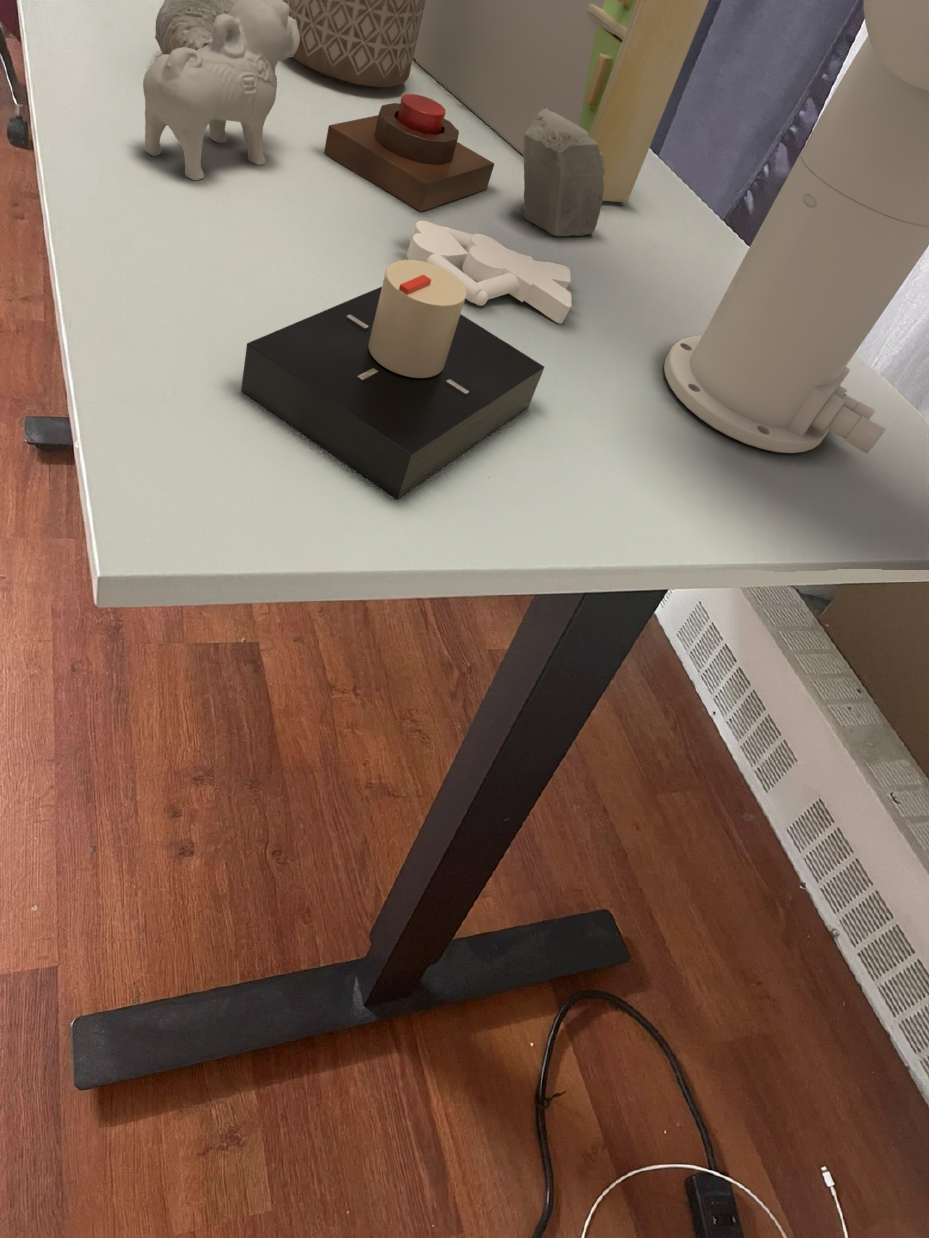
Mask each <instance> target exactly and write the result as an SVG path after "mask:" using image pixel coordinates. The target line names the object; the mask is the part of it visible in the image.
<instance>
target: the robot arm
mask: <svg viewBox="0 0 929 1238" xmlns="http://www.w3.org/2000/svg"><path fill="white" fill-rule="evenodd" d="M863 16H864V23H865V28H866V32H867V36H866V38H865V40H864V41H863V43H862V44H861V46H860V48H859V50H858V51H857V52H856V54H855V56H854V57H853V59H852V61H851V62H850V64H849V66H848V67H847V69H846V71H845V73H844V74H843V76H842V78H841V79H840V81H839V83H838V85H837V86H836V88H835V89H834V92H833V93H832V95H831V97H830V99H829V101H828V102H827V104H826V105H825V107H824V110H823V111H822V113H821V115H820V116H819V118H818V119H817V122H816V124H815V126H814V128H813V130H812V131H811V133H810V135H809V137H808V139H807V140H806V142H805V144H804V146H803V148H802V150H801V151H800V153H799V154H798V155H797V158H796V160H795V162H794V164H793V165H792V168H791V169H790V171H789V173H788V175H787V177H786V179H785V180H784V182H783V184H782V186H781V188H780V190H779V192H778V193H777V196H776V197H775V199H774V201H773V203H772V205H771V207H770V209H769V210H768V213H767V214H766V216H765V218H764V220H763V222H762V224H761V225H760V227H759V229H758V231H757V233H756V235H755V236H754V238H753V240H752V242H751V244H750V246H749V248H748V250H746V251H747V252H746V253H745V255H744V257H743V259H742V260H741V263H740V265H739V266H738V268H737V270H736V272H735V273H734V275H733V277H732V280H731V281H730V283H729V285H728V287H727V289H726V291H725V292H724V294H723V296H722V298H721V300H720V301H719V304H718V306H717V307H716V309H715V311H714V313H713V314H712V317H711V319H710V321H709V322H708V324H707V327H706V328H705V330H704V331H703V334H702V335H693V336H687V337H684V338H682V339H680V340H677V341H676V342H675V343H674V344H673V345H672V346H671V348H670V350H669V352H668V354H667V356H666V357H665V360H664V365H663V370H664V375H665V378H666V380H667V383H668V385H669V387H670V389H671V390H672V391H673V393H674V395H675V396H676V397H677V399H678V400H679V401H680V402H681V403H682V404H683V405H684V406H685V407H686V408H687V409H688V410H689V411H690V412H692V414H694V415H695V416H696V417H697V418H698V419H700V420H702V421H703V422H704V423H706V424H707V425H708V426H710V427H711V428H713V429H715V430H717V431H718V432H720V433H722V434H724V435H725V436H728V437H729V438H732V439H734V440H736V441H739V442H741V443H743V444H745V445H748V446H750V447H754V448H757V449H760V450H765V451H770V452H774V453H782V454H783V453H784V454H796V453H797V454H798V453H805V452H808V451H810V450H813V449H815V448H817V447H818V446H819V445H821V443H822V441H823V440H824V439H825V437H826V436H827V435H828V433H829V432H830V431H831V432H832V433H834V434H835V435H838V436H839V437H841V438H842V439H844V442H846V443H848V444H850V445H851V446H852V447H855V448H857V449H858V450H859V451H861V452H863V453H865V454H869V453H870V452H871V450H872V449H873V448H874V446H875V445H876V443H877V442H878V441H879V439H880V438H881V437H882V435H883V434H884V432H885V431H886V428H885V427H882V426H880V425H879V424H877V423H876V422H874V421H872V420H870V419H871V418H872V417H873V415H874V414H875V412H876V410H875V409H874V408H872V407H870V406H868V405H867V404H865V403H863V402H861V401H858V400H856V399H854V398H853V397H851V396H849V395H847V392H848V389H847V388H845V387H843V386H841V385H842V384H843V382H844V380H845V379H846V378H847V376H848V375H849V374H850V372H851V369H850V368H848V367H847V366H848V364H849V363H850V361H851V360H852V359H853V357H854V356H855V354H856V353H857V351H858V350H859V348H860V347H861V345H862V344H863V342H864V341H865V339H866V338H867V337H868V335H869V334H870V332H871V331H872V330H873V327H874V326H876V324H877V322H878V320H879V319H880V317H881V316H882V315H883V314H884V312H885V310H886V309H887V307H888V306H889V305H890V303H891V302H892V300H893V299H894V297H895V296H896V294H897V293H898V291H899V290H900V288H901V287H902V285H903V284H904V283H905V281H906V280H907V278H908V277H909V275H910V274H911V272H912V271H913V270H914V268H915V266H916V265H917V263H918V262H919V260H921V257H922V256H923V255H924V253H925V252H926V250H927V249H928V247H929V0H863Z"/></svg>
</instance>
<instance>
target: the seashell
mask: <svg viewBox="0 0 929 1238" xmlns="http://www.w3.org/2000/svg"><path fill="white" fill-rule="evenodd" d="M234 4H235V3H234V2H233V0H163V3H162V5H161V7H160V8H159V10H158V13H157V15H156V19H155V36H154V39H155V41H156V42H157V44H158V46H159V49H160V51H161V54H162V55H165V54H171V52H172V51H173V50H174V49H177V48H182V47H187V48H191V49H194V50H196V51H197V50H198V49H200V48H203V47H205V46H207V45H208V41H209V40H210V39H212V29H213V25H214V21H215V19H216V17H217V16H219V15H221V14H228V15H229V14H230V11H231V9H232V7H233V6H234ZM226 33H227V31H226V32H225V34H226Z"/></svg>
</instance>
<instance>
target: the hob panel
mask: <svg viewBox="0 0 929 1238" xmlns="http://www.w3.org/2000/svg"><path fill="white" fill-rule="evenodd" d="M381 289H382V286H379V287H376V288H375V289H372V290H371V291H368V292H365V293H363V294H360V295H358V296H355V297H354V298H350V299H349V300H347V301H344V302H342V303H339V304H337V305H334V306H332V307H330V308H327V309H324V310H323V311H320V312H317V313H316V314H312V315H310V316H309V317H306V318H303V319H301V320H299V321H297V322H294V323H291V324H289V325H287V326H285V327H282V328H280V329H277V330H275V331H273V332H270V333H268V334H265V335H263V336H261V337H258V338H256V339H253V340H251V341H249V342H247V343H246V346H245V347H246V349H245V357H244V365H243V372H242V380H241V386H240V387H241V388H240V391H241V392H243V393H244V394H246V396H248V397H250V398H251V399H252V400H254V401H255V402H257V403H258V404H259V405H261V406H263V407H264V408H266V409H267V410H269V411H270V412H271V413H273V414H274V415H276V416H277V417H278V418H280V419H281V420H282V421H284V422H286V423H287V424H289V425H290V426H292V427H293V428H294V429H296V430H297V431H299V433H302V435H305V436H306V437H307V438H309V439H310V440H312V441H313V442H314V443H316V444H318V446H320V447H322V448H323V449H325V450H326V451H328V452H329V453H330V454H331V455H333V456H335V457H336V458H337V459H339V460H341V461H342V462H343V463H345V464H346V465H348V466H349V467H350V468H352V469H353V470H355V471H356V472H357V473H359V474H361V475H362V476H363V477H365V478H366V479H367V480H369V481H371V482H372V483H373V484H375V485H377V486H378V487H379V488H381V489H382V490H383V491H385V492H386V493H388V494H389V495H390V496H392V497H394V498H395V499H400V498H401V497H403V496H404V495H405V494H407V493H408V492H410V491H411V490H412V489H414V488H415V487H417V486H418V485H420V484H421V483H422V482H424V481H425V480H427V479H428V478H430V477H431V476H432V475H434V474H436V473H437V472H438V471H440V470H441V469H442V468H444V467H445V466H447V465H449V464H450V463H451V462H453V461H454V460H455V459H456V458H458V457H460V456H461V455H462V454H464V453H466V451H468V450H470V449H471V448H472V447H474V446H475V445H477V444H478V443H480V442H481V441H482V440H484V439H485V438H486V437H488V436H490V435H491V434H492V433H493V432H495V431H497V430H498V429H499V428H501V427H502V426H503V425H505V424H506V423H508V422H509V421H510V420H512V419H514V418H515V417H516V416H518V415H519V414H521V413H522V412H524V411H525V410H526V409H528V408H529V407H530V404H531V402H532V399H533V397H534V394H535V392H536V389H537V387H538V385H539V382H540V380H541V377H542V374H543V372H544V370H545V366H544V365H542V364H541V363H540V362H538V361H537V360H535V359H533V358H531V357H530V356H528V355H527V354H525V353H524V352H522V351H520V350H519V349H518V348H516V347H514V346H512V345H511V344H509V343H508V342H506V341H504V340H503V339H501V338H500V337H498V336H497V335H495V334H494V333H492V332H490V331H488V330H487V329H485V328H484V327H482V326H481V325H479V324H478V323H476V322H474V321H473V320H471V319H470V318H468V317H466V316H465V315H463V314H462V313H461V314H460V317H459V320H458V324H457V327H456V330H455V333H454V336H453V340H452V343H451V346H450V349H449V352H448V356H447V359H446V362H445V365H444V368H443V370H442V371H441V372H440V373H439V374H437V375H435V376H433V377H428V378H412V377H407V376H403V375H400V374H397V373H394V372H392V371H390V370H388V369H386V368H385V367H383V366H382V365H380V364H379V363H378V362H377V361H376V360H375V359H374V358H373V357H372V355H371V353H370V351H369V346H368V345H369V340H370V336H371V331H372V327H373V323H374V319H375V314H376V310H377V306H378V302H379V298H380V293H381Z"/></svg>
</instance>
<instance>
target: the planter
mask: <svg viewBox="0 0 929 1238" xmlns="http://www.w3.org/2000/svg"><path fill="white" fill-rule="evenodd" d="M281 1H283V2H285V3H287V4H288V6H289V16H290V17H291V18H292V19H294V20H296V22H297V28H298V31H299V36H300V42H299V47H298V49H297V51H296V53H295V54H294V56H293V57H292V58H293V59H294V60H296V61H297V62H299V63H301V64H302V65H304V66H306V67H308V68H310V69H312V70H314V71H316V72H318V73H320V74H322V75H323V76H326V77H328V78H330V79H333V80H335V81H339V82H342V83H345V84H350V85H356V86H368V87H376V88H391V87H397V86H400V85H402V84H404V83H406V82H407V80H408V79H409V77H410V74H411V69H412V65H413V61H414V51H415V47H416V42H417V38H418V33H419V29H420V24H421V20H422V15H423V11H424V6H425V1H426V0H281Z"/></svg>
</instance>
